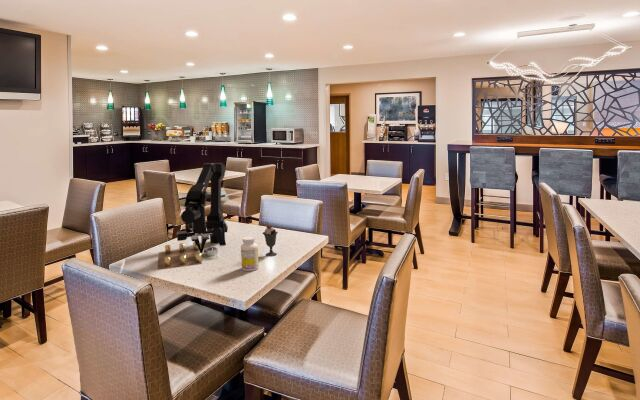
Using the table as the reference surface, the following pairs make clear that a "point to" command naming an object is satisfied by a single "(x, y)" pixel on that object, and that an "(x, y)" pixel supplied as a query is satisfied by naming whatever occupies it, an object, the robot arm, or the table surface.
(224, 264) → the table surface
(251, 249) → the supplement bottle
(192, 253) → the board
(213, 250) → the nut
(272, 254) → the sundae
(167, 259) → the spacers
